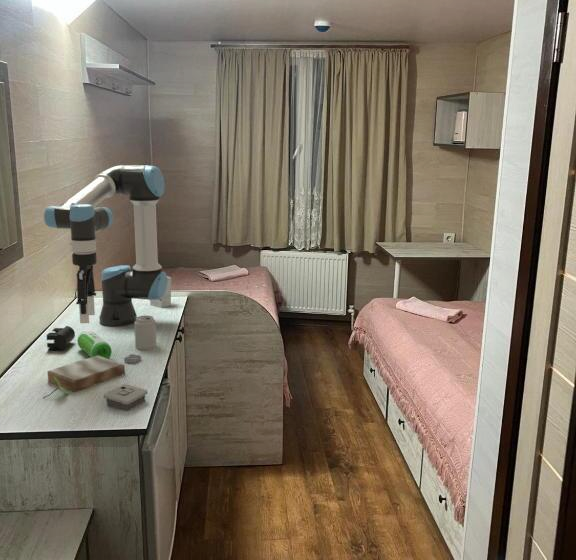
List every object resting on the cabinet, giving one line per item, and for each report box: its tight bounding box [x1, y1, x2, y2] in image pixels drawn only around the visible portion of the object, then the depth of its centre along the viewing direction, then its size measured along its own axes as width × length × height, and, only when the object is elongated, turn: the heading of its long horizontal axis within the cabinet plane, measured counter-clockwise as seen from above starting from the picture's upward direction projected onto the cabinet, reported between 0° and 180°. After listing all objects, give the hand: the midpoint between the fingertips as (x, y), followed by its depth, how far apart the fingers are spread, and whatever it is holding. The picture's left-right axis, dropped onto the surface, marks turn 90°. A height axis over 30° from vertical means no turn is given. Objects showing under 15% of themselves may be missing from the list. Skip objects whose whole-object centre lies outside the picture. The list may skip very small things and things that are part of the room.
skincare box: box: [149, 275, 172, 309], centre depth 282 cm, size 8×6×15 cm
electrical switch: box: [103, 383, 149, 412], centre depth 181 cm, size 9×5×9 cm
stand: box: [47, 355, 126, 394], centre depth 200 cm, size 19×14×4 cm
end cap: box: [46, 325, 76, 352], centre depth 229 cm, size 10×7×7 cm
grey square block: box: [124, 353, 142, 365], centre depth 215 cm, size 4×4×2 cm
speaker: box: [76, 330, 113, 360], centre depth 221 cm, size 18×7×8 cm, turn 36°
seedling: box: [42, 377, 70, 399], centre depth 186 cm, size 7×8×7 cm
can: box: [133, 315, 157, 351], centre depth 228 cm, size 8×8×12 cm
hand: (87, 318), depth 208 cm, fingers open, 9 cm apart
